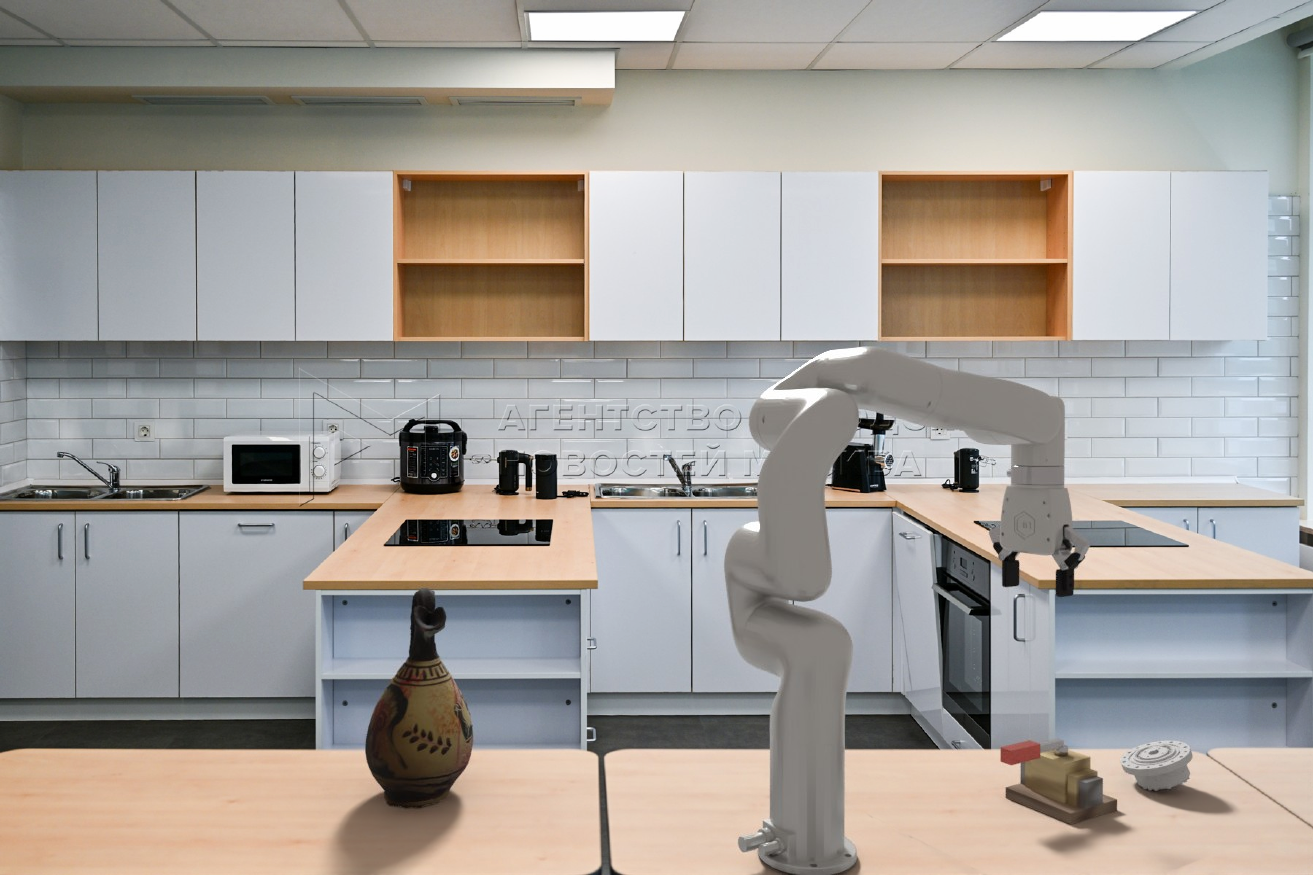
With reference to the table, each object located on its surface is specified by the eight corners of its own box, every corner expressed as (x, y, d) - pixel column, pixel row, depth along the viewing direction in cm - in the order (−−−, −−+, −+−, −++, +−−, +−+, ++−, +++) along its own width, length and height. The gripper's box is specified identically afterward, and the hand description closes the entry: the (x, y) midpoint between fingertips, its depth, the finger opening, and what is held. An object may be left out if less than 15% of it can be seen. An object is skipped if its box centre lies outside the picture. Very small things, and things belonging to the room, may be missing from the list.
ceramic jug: (483, 806, 138) (482, 597, 138) (370, 823, 132) (370, 604, 132) (461, 767, 154) (461, 579, 153) (360, 780, 148) (359, 585, 148)
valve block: (1070, 824, 132) (1071, 772, 132) (1005, 797, 142) (1005, 749, 142) (1117, 809, 137) (1117, 759, 137) (1050, 784, 147) (1051, 738, 147)
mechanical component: (1163, 769, 139) (1105, 763, 148) (1175, 799, 139) (1116, 791, 148) (1202, 740, 144) (1144, 736, 153) (1213, 768, 144) (1154, 763, 153)
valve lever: (1059, 749, 141) (1059, 732, 141) (1071, 753, 139) (1071, 736, 139) (999, 764, 134) (999, 746, 134) (1011, 769, 133) (1011, 751, 133)
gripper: (975, 475, 152) (974, 584, 152) (1070, 481, 137) (1070, 602, 137) (1007, 474, 155) (1007, 581, 156) (1104, 479, 140) (1104, 597, 141)
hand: (1036, 590), depth 146 cm, fingers open, 9 cm apart
